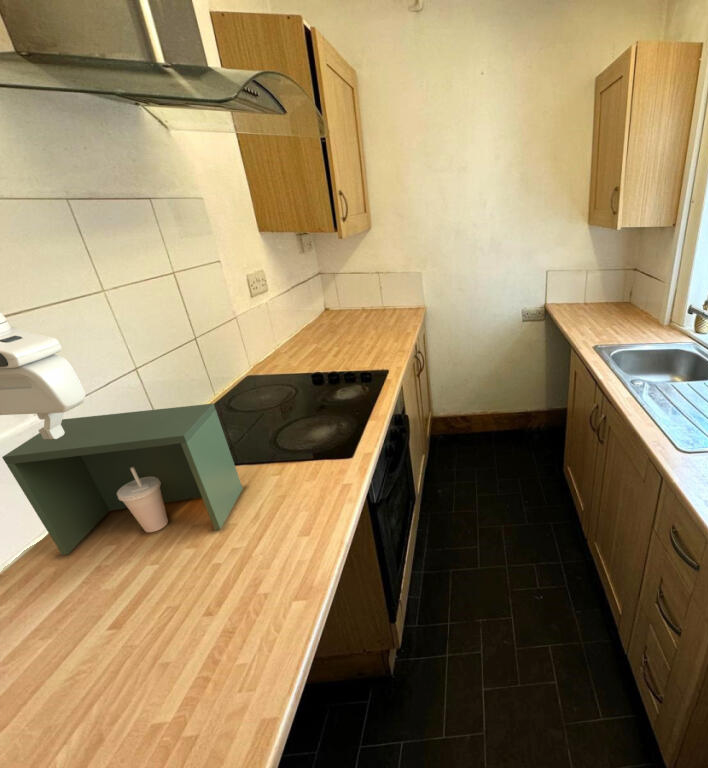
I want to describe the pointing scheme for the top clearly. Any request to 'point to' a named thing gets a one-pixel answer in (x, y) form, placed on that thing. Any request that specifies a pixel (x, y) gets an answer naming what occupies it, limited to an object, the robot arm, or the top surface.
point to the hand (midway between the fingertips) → (20, 438)
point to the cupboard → (124, 466)
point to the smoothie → (144, 501)
